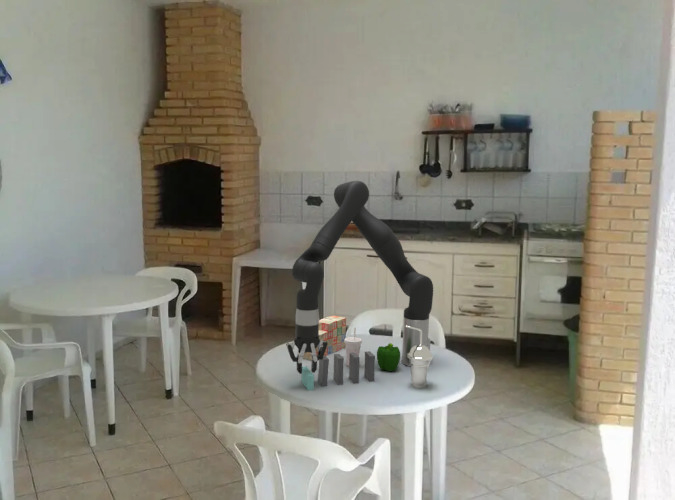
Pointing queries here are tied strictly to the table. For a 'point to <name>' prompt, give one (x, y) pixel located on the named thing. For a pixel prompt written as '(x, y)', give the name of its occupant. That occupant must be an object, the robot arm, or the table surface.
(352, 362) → the domino
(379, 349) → the bell pepper
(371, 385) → the table surface
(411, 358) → the cup with straw
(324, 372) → the domino
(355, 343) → the smoothie
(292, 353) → the robot arm
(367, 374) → the domino
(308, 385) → the domino
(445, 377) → the table surface
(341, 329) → the stack of blocks
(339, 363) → the domino
